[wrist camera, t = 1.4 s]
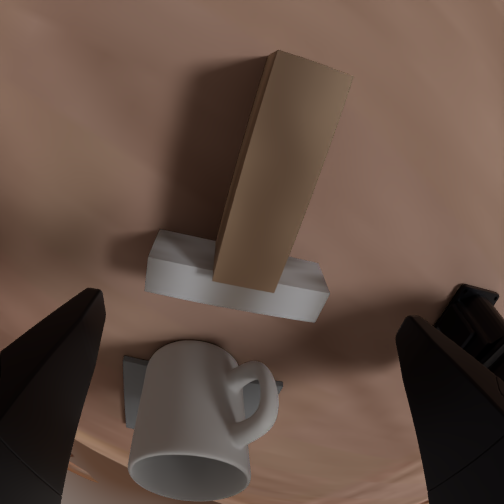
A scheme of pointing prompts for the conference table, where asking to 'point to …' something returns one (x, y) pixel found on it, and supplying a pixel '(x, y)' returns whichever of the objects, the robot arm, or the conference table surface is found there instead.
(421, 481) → the conference table surface
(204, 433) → the mug
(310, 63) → the panel
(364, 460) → the conference table surface
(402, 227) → the conference table surface
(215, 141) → the conference table surface
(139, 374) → the mat
